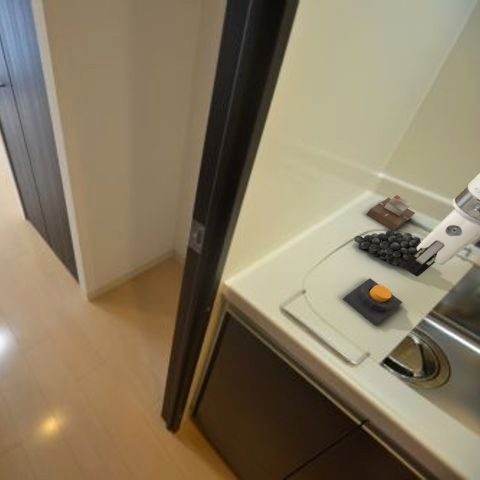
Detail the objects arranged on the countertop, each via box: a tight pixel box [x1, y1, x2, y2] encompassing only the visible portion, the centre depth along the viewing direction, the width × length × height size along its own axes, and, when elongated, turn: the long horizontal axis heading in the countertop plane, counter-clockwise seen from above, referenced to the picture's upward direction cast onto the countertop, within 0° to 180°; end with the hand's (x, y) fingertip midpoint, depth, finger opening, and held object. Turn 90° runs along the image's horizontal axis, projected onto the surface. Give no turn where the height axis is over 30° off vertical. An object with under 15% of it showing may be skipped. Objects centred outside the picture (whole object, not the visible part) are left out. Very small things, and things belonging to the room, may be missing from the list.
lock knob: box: [384, 194, 412, 216], centre depth 94 cm, size 4×2×4 cm, turn 33°
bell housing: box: [342, 277, 403, 326], centre depth 76 cm, size 10×8×4 cm
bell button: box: [369, 284, 393, 302], centre depth 74 cm, size 4×4×2 cm
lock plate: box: [365, 197, 416, 231], centre depth 96 cm, size 10×9×3 cm
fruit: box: [353, 229, 422, 268], centre depth 85 cm, size 9×8×15 cm
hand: (411, 270), depth 68 cm, fingers closed
